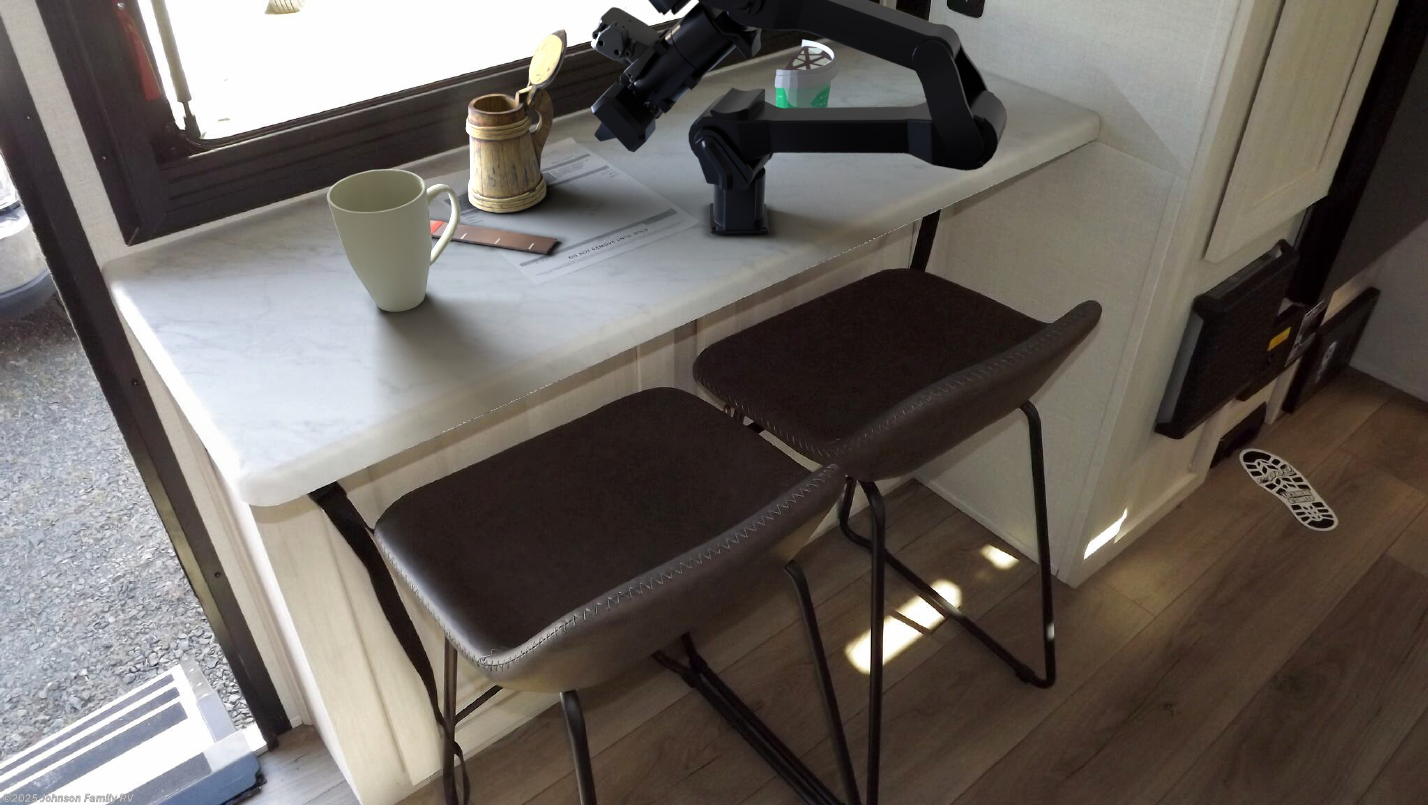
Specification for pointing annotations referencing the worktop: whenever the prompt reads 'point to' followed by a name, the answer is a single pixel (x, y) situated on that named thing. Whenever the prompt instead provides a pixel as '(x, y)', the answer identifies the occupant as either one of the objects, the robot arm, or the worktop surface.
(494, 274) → the worktop surface
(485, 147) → the wooden mug
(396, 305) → the mug
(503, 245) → the ruler
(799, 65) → the food container
